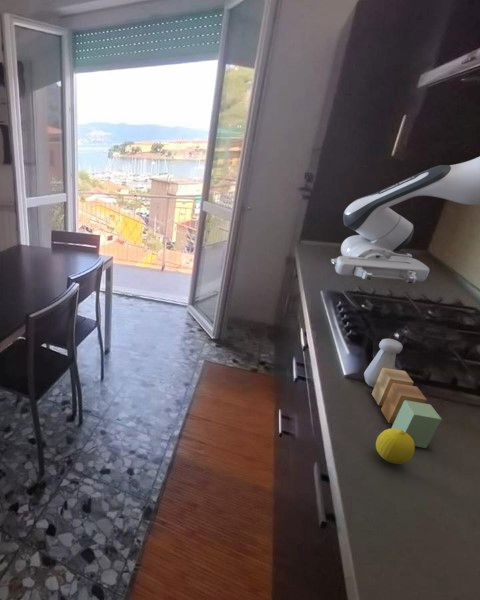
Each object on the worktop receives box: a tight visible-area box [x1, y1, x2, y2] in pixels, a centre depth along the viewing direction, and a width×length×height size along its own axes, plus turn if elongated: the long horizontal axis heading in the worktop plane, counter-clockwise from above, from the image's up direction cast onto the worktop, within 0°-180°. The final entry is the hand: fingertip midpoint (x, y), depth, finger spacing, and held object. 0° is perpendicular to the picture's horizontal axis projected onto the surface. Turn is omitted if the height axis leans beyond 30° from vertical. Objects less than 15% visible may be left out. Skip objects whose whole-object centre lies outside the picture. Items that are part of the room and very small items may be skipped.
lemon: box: [375, 428, 416, 465], centre depth 70 cm, size 6×6×8 cm
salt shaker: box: [363, 338, 403, 388], centre depth 90 cm, size 6×6×13 cm
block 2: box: [380, 383, 428, 425], centre depth 80 cm, size 4×4×8 cm
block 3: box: [391, 400, 443, 449], centre depth 75 cm, size 4×4×8 cm
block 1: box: [371, 368, 415, 407], centre depth 85 cm, size 4×4×8 cm
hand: (390, 278), depth 92 cm, fingers open, 8 cm apart
